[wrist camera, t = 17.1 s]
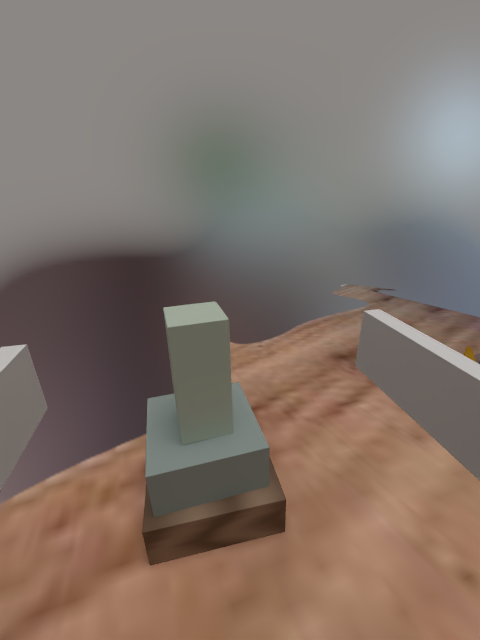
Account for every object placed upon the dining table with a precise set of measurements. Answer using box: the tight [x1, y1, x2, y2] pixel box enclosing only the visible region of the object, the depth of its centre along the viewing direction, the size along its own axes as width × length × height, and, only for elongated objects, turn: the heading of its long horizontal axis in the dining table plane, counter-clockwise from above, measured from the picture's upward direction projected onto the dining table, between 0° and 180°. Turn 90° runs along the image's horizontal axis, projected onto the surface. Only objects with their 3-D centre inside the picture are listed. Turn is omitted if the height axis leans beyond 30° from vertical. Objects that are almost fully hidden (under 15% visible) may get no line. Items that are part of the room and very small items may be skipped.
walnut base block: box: [142, 457, 286, 565], centre depth 34 cm, size 13×13×5 cm
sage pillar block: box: [163, 302, 233, 445], centre depth 28 cm, size 5×5×12 cm
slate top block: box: [145, 382, 269, 517], centre depth 32 cm, size 11×11×5 cm
